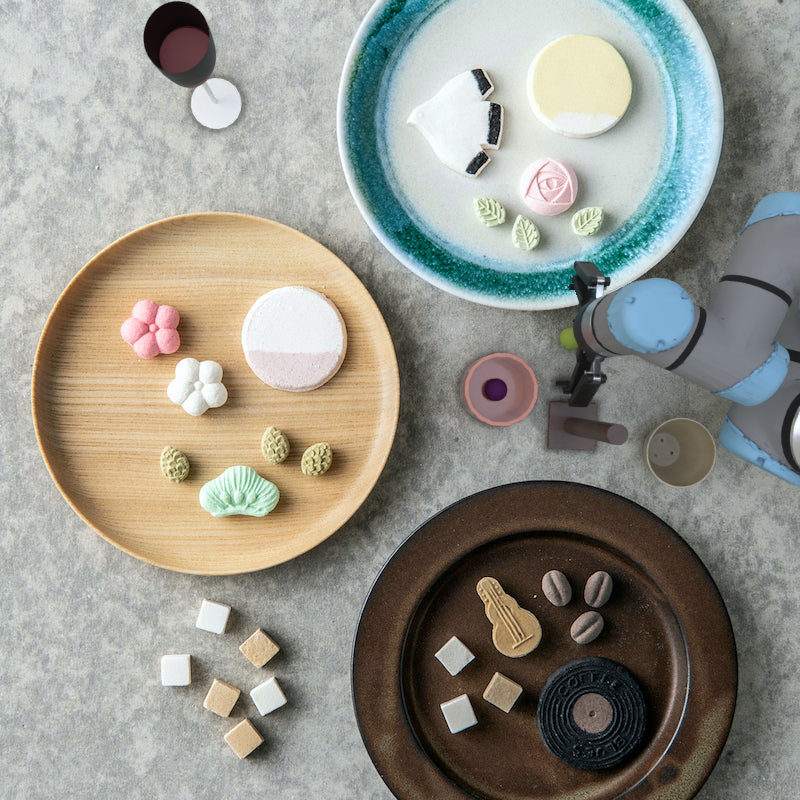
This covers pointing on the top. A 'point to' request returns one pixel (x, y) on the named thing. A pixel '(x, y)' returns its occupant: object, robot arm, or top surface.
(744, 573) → the top surface
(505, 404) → the pink bowl
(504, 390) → the purple grape
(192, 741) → the top surface
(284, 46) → the top surface
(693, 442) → the flower pot
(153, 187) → the top surface
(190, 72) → the wineglass
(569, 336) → the green grape
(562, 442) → the stand
